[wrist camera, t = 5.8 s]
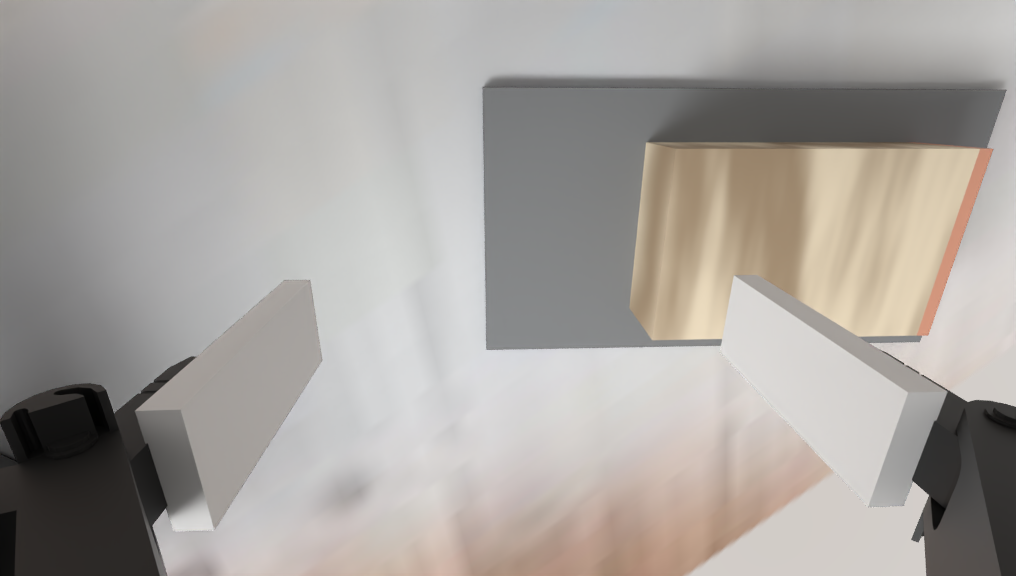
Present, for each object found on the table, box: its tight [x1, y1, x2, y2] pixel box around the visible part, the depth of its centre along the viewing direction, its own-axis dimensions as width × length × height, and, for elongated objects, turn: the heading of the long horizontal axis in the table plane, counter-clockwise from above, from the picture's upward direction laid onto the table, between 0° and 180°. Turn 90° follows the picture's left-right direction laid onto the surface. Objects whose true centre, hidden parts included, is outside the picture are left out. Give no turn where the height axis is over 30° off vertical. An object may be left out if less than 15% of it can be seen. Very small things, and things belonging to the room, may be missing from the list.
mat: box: [483, 87, 1006, 350], centre depth 26 cm, size 26×14×1 cm, turn 90°
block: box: [629, 142, 993, 340], centre depth 24 cm, size 4×9×14 cm
